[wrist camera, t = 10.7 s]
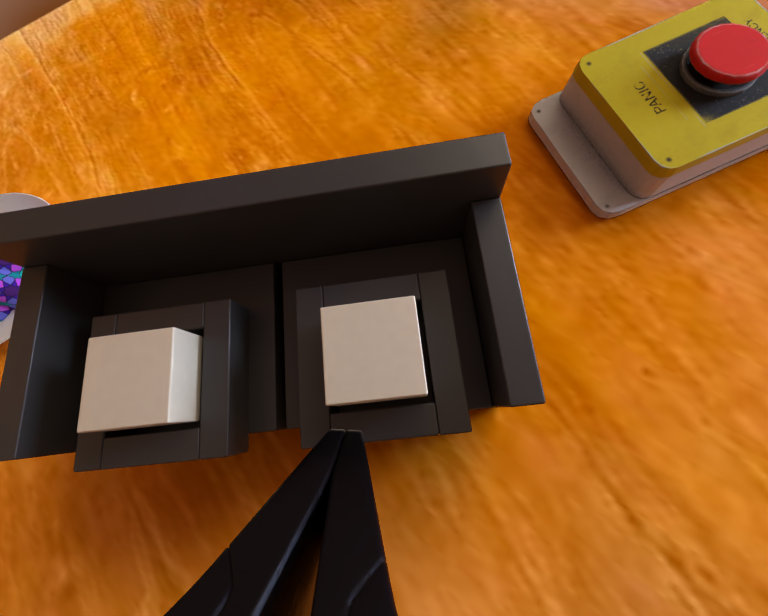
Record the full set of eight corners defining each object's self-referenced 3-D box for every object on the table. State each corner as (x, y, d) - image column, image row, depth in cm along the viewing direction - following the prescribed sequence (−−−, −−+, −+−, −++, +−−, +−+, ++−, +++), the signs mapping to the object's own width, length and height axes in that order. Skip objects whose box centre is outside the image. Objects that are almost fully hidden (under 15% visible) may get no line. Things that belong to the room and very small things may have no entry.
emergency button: (913, 58, 18) (641, 180, 18) (820, 125, 22) (600, 223, 22) (780, -51, 21) (543, 53, 20) (720, 27, 25) (522, 114, 25)
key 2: (200, 421, 15) (168, 423, 13) (118, 430, 15) (75, 433, 13) (203, 336, 16) (174, 326, 14) (126, 345, 16) (87, 337, 14)
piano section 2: (311, 439, 20) (258, 453, 14) (160, 455, 21) (43, 475, 14) (304, 293, 23) (257, 246, 16) (170, 311, 23) (72, 273, 17)
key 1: (427, 396, 14) (428, 394, 12) (337, 406, 14) (325, 405, 13) (416, 308, 15) (414, 295, 13) (332, 319, 15) (319, 307, 14)
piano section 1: (479, 421, 20) (507, 428, 13) (318, 438, 20) (268, 452, 14) (454, 273, 22) (466, 216, 16) (311, 292, 23) (266, 245, 16)
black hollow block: (498, 405, 20) (569, 402, 10) (142, 443, 21) (-87, 471, 12) (470, 249, 22) (504, 130, 13) (154, 293, 24) (-26, 216, 14)
